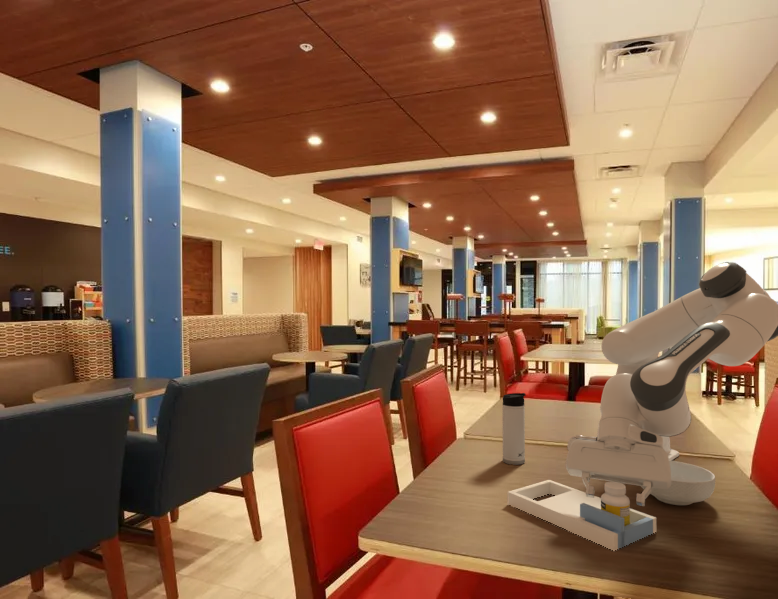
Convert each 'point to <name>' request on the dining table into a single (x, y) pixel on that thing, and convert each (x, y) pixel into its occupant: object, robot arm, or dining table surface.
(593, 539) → the pocket rack
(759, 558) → the dining table surface
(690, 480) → the cereal bowl
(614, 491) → the supplement bottle
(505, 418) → the travel mug
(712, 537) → the dining table surface
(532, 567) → the dining table surface
